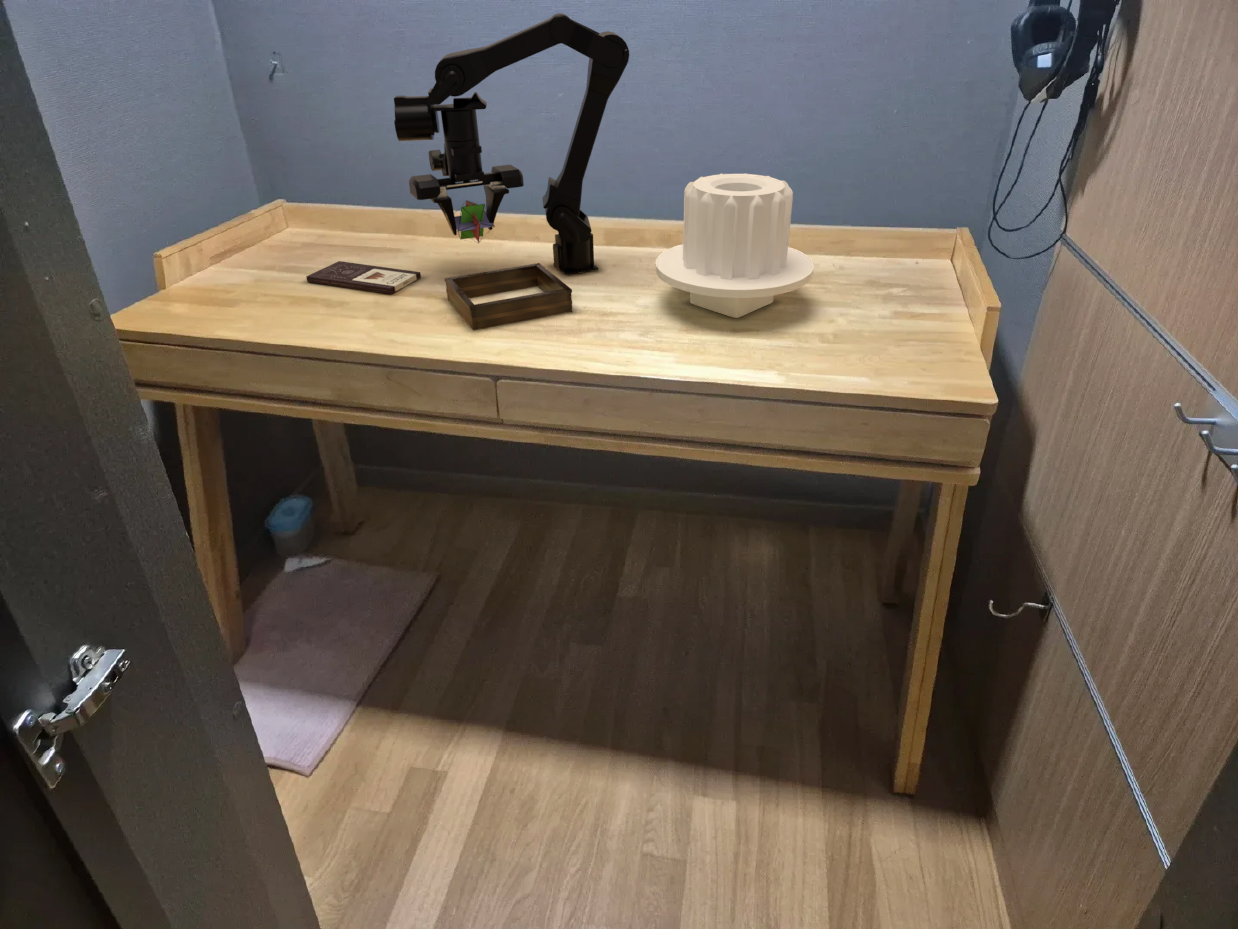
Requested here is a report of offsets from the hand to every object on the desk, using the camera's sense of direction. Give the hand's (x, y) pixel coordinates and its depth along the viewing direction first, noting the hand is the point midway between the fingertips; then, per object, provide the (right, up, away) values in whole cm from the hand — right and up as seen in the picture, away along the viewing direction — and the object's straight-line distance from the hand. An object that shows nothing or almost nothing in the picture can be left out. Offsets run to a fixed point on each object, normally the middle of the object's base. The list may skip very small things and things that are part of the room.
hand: (472, 231), depth 144 cm
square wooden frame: (+8, -15, -10) cm, 19 cm away
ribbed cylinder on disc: (+44, -15, -10) cm, 48 cm away
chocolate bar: (-20, -8, +2) cm, 21 cm away
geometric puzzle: (0, -1, +1) cm, 2 cm away
